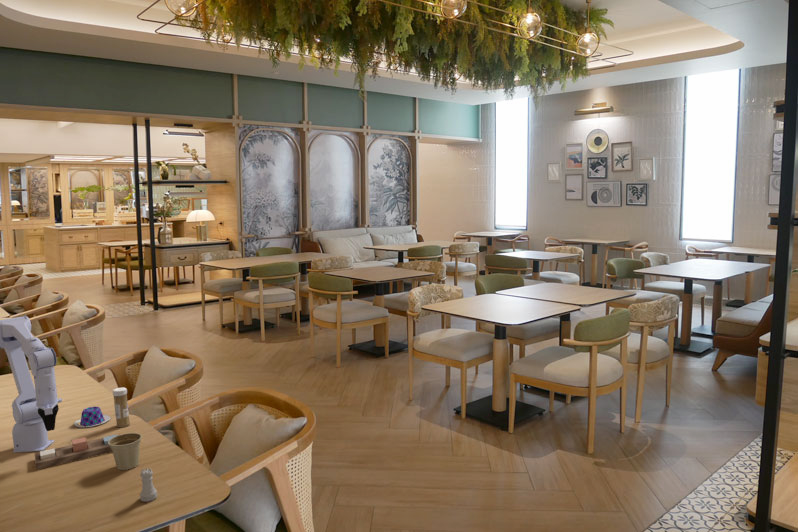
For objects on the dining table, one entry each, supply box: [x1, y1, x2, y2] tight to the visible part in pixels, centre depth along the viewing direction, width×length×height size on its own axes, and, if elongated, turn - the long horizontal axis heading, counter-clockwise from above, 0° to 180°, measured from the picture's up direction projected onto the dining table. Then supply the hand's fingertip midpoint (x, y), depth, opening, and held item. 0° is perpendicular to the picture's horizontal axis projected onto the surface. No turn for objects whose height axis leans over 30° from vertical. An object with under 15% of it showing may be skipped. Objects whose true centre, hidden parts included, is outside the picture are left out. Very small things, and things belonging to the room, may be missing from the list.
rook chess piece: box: [139, 467, 158, 503], centre depth 167 cm, size 4×4×8 cm
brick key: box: [71, 436, 88, 452], centre depth 198 cm, size 4×4×3 cm
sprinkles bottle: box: [112, 387, 131, 428], centre depth 220 cm, size 5×5×13 cm
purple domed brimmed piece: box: [73, 406, 111, 428], centre depth 225 cm, size 12×12×5 cm
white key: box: [39, 448, 56, 460], centre depth 193 cm, size 4×4×3 cm
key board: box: [34, 434, 121, 471], centre depth 198 cm, size 25×9×2 cm, turn 122°
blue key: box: [102, 434, 118, 445], centre depth 202 cm, size 4×4×3 cm
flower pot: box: [108, 432, 143, 471], centre depth 188 cm, size 9×9×9 cm
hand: (50, 429), depth 194 cm, fingers closed
